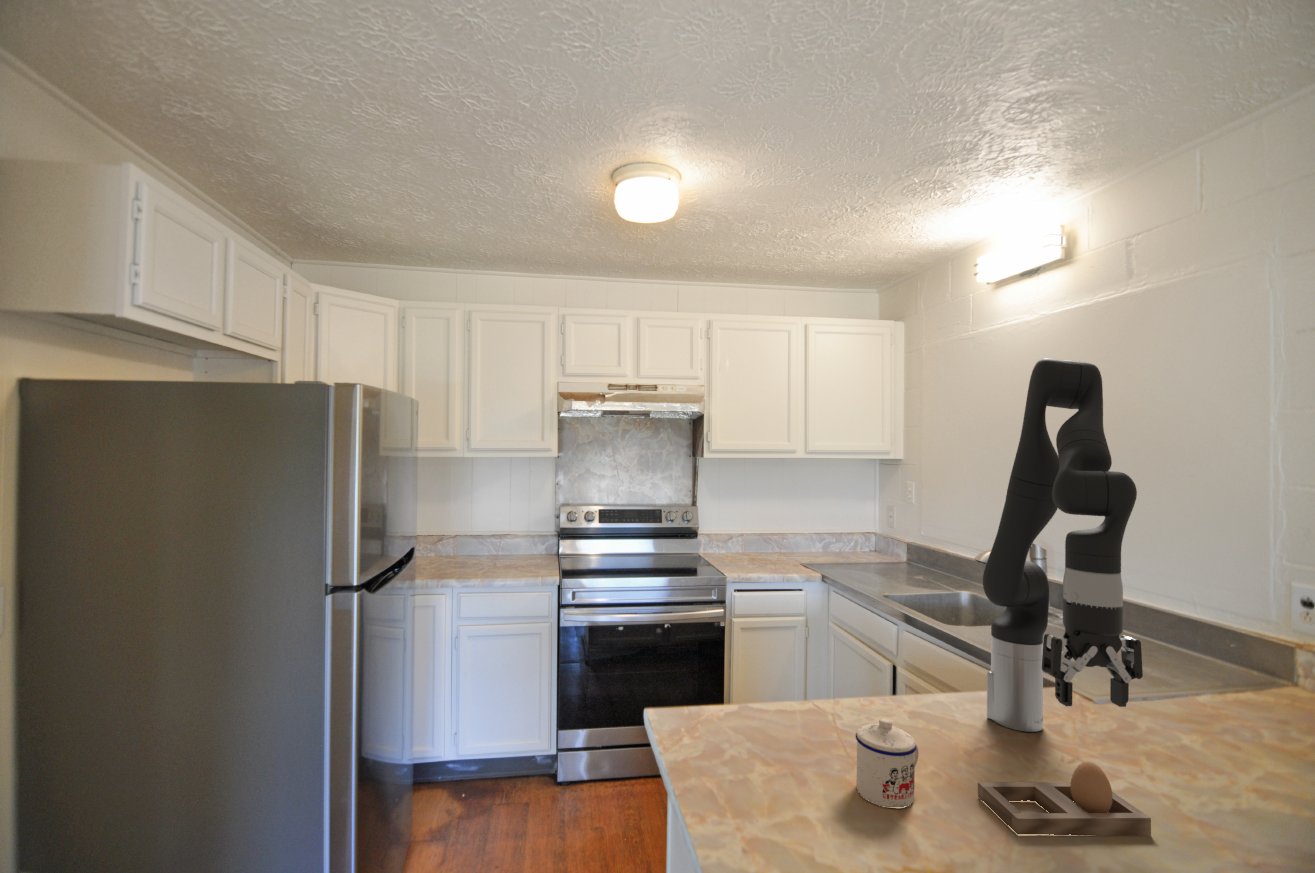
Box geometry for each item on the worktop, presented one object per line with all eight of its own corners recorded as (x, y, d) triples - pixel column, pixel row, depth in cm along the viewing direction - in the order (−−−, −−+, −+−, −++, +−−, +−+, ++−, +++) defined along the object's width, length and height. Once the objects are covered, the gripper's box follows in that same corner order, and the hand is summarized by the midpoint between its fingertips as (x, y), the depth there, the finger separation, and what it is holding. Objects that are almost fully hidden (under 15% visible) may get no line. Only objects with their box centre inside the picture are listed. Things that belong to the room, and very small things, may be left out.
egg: (1121, 823, 88) (1121, 769, 88) (1094, 828, 86) (1094, 773, 87) (1087, 803, 93) (1087, 752, 93) (1062, 807, 91) (1062, 756, 92)
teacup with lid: (888, 817, 88) (889, 737, 88) (842, 786, 96) (843, 713, 96) (940, 797, 93) (941, 722, 94) (893, 770, 101) (894, 701, 102)
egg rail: (1017, 836, 84) (1017, 818, 84) (977, 798, 93) (978, 782, 93) (1151, 835, 85) (1150, 817, 85) (1098, 797, 94) (1098, 781, 95)
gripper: (1116, 594, 95) (1116, 695, 95) (1031, 592, 95) (1030, 693, 94) (1157, 606, 88) (1157, 715, 87) (1065, 604, 87) (1064, 714, 87)
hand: (1091, 704), depth 91 cm, fingers open, 8 cm apart
